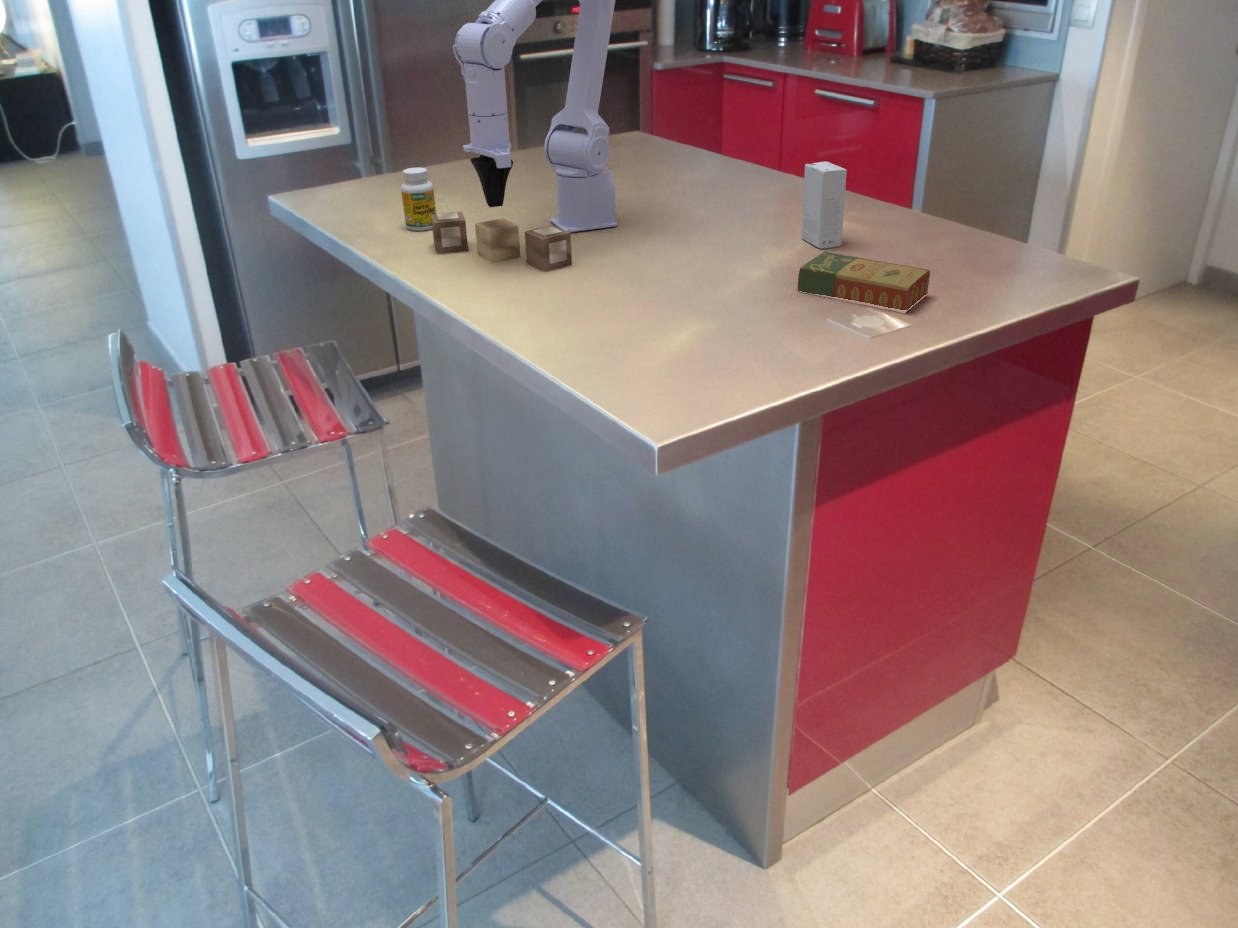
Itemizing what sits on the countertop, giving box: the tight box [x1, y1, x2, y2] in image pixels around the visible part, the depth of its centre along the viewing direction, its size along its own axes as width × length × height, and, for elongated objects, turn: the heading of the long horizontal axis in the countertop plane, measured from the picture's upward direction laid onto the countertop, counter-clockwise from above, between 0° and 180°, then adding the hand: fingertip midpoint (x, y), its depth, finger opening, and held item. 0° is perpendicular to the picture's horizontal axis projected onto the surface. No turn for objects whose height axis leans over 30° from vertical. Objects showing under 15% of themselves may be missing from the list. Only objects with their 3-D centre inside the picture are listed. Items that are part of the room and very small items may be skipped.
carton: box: [797, 250, 931, 310], centre depth 137 cm, size 8×16×4 cm, turn 55°
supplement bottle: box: [400, 167, 437, 232], centre depth 166 cm, size 5×5×10 cm
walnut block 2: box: [524, 224, 573, 272], centre depth 149 cm, size 5×5×5 cm
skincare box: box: [801, 161, 848, 250], centre depth 155 cm, size 6×4×12 cm
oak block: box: [474, 217, 521, 264], centre depth 153 cm, size 5×5×5 cm
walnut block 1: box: [431, 211, 469, 254], centre depth 157 cm, size 5×5×5 cm
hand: (495, 205), depth 151 cm, fingers closed
